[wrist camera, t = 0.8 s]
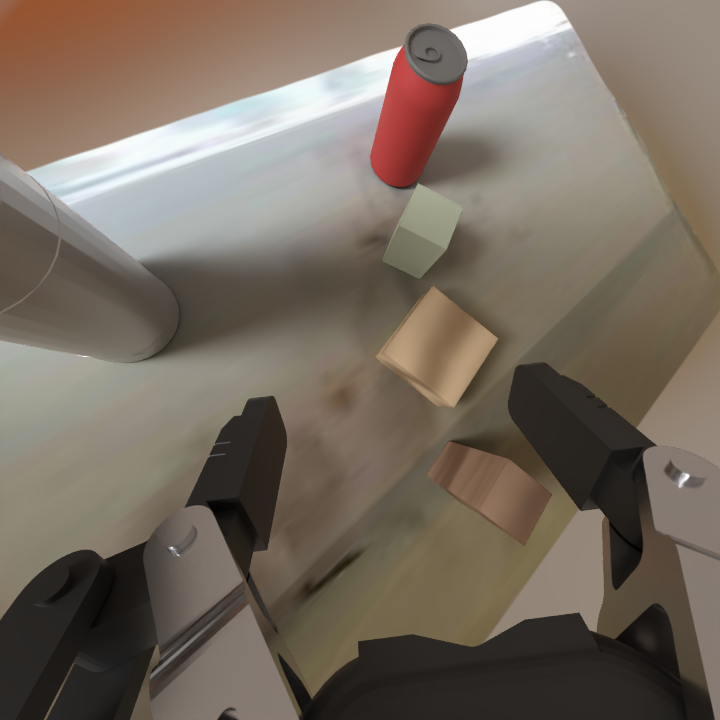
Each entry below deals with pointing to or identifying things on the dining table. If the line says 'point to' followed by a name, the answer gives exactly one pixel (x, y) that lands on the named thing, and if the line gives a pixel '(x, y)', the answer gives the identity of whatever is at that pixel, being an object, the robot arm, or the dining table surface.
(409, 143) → the beer can
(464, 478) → the walnut pillar
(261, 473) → the robot arm
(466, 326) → the oak base block
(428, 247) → the sage green block
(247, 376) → the dining table surface
